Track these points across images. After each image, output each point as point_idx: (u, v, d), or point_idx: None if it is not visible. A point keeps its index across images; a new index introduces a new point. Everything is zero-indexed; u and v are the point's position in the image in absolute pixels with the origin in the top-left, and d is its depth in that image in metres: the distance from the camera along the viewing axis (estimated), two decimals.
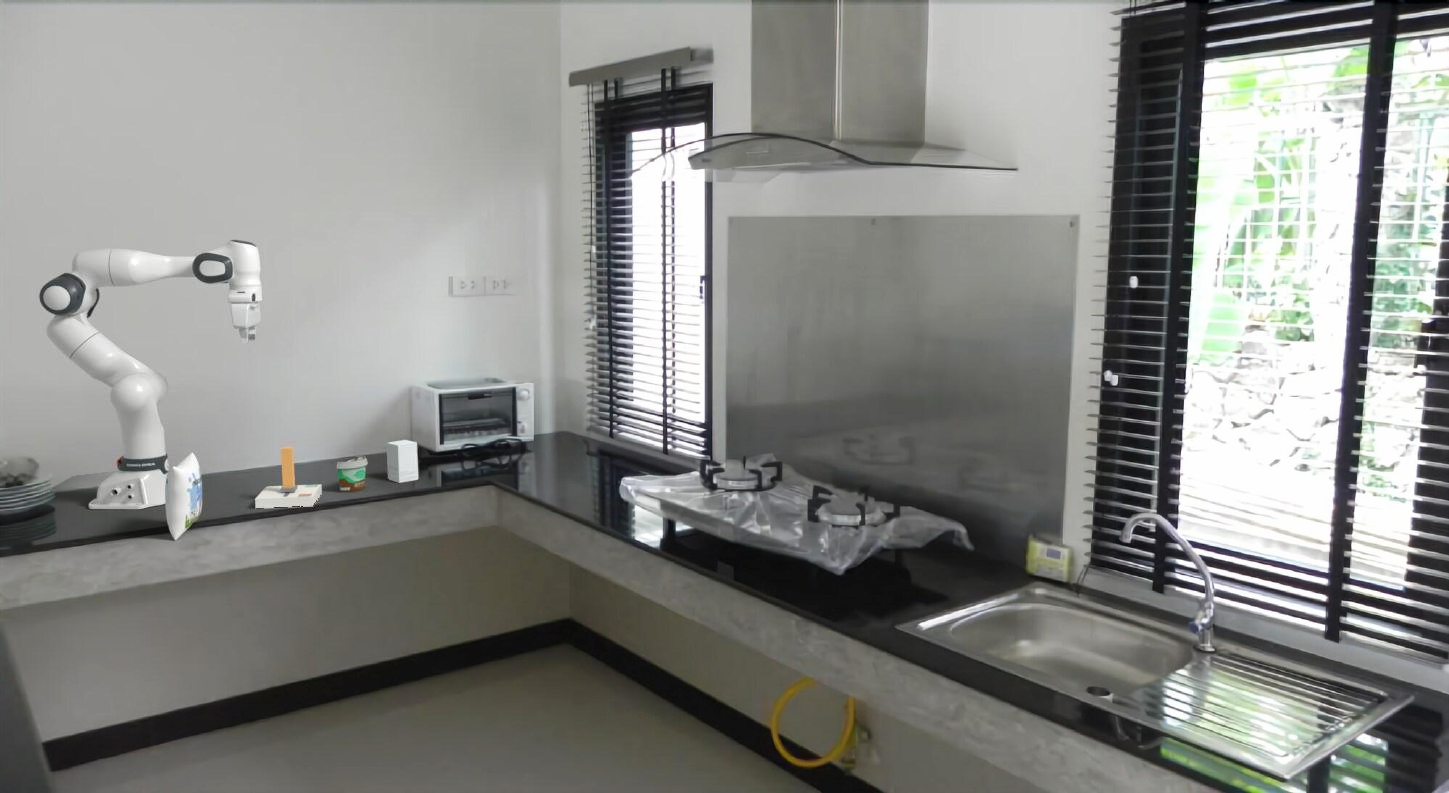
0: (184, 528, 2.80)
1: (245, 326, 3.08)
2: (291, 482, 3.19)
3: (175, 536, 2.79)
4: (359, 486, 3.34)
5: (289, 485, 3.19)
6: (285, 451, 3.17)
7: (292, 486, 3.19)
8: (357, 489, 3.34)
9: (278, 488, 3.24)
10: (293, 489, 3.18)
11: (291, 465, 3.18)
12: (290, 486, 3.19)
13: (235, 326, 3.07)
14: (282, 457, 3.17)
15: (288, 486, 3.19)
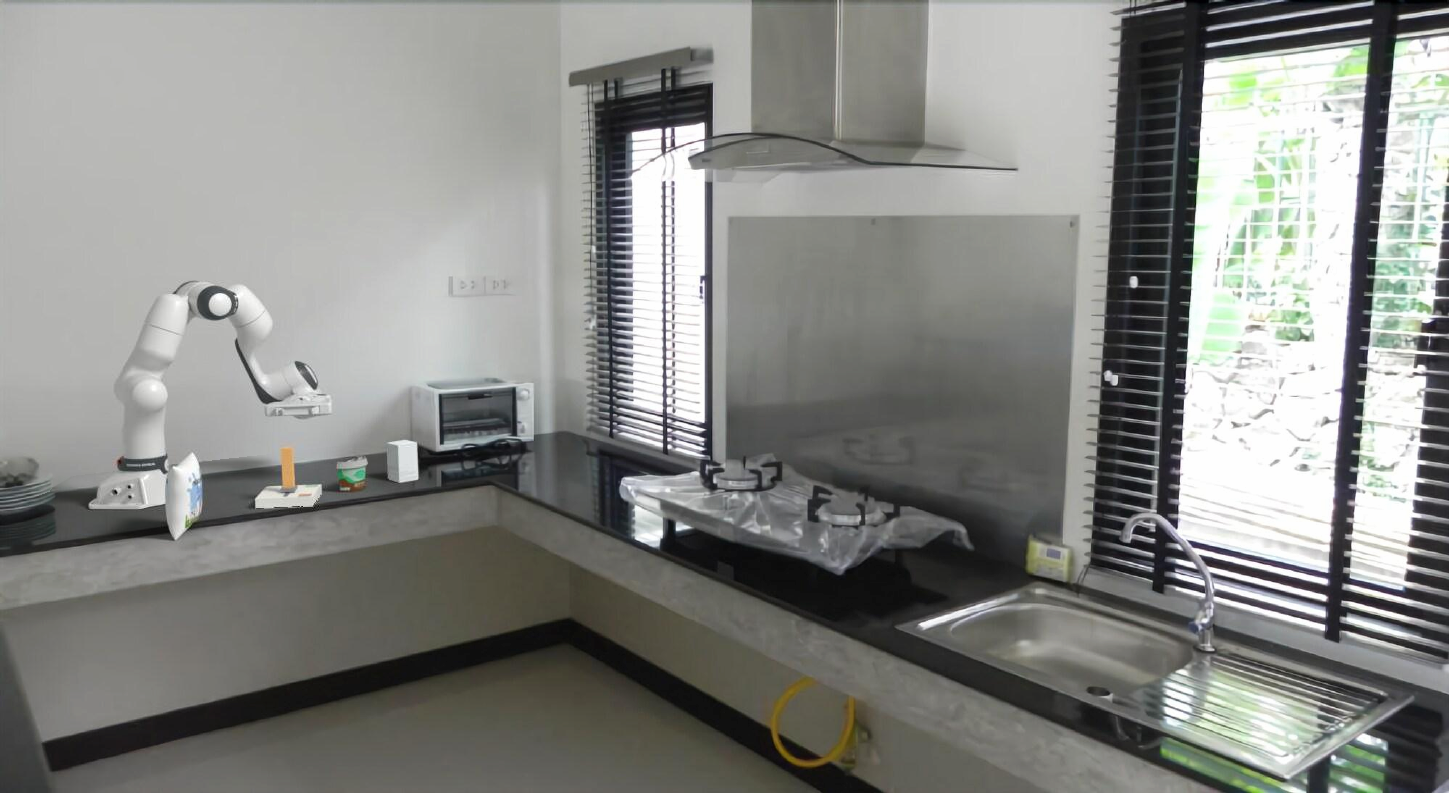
0: (184, 528, 2.80)
1: (330, 413, 3.39)
2: (291, 482, 3.19)
3: (175, 536, 2.79)
4: (359, 486, 3.34)
5: (289, 485, 3.19)
6: (285, 451, 3.17)
7: (292, 486, 3.19)
8: (357, 489, 3.34)
9: (278, 488, 3.24)
10: (293, 489, 3.18)
11: (291, 465, 3.18)
12: (290, 486, 3.19)
13: (330, 404, 3.38)
14: (282, 457, 3.17)
15: (288, 486, 3.19)
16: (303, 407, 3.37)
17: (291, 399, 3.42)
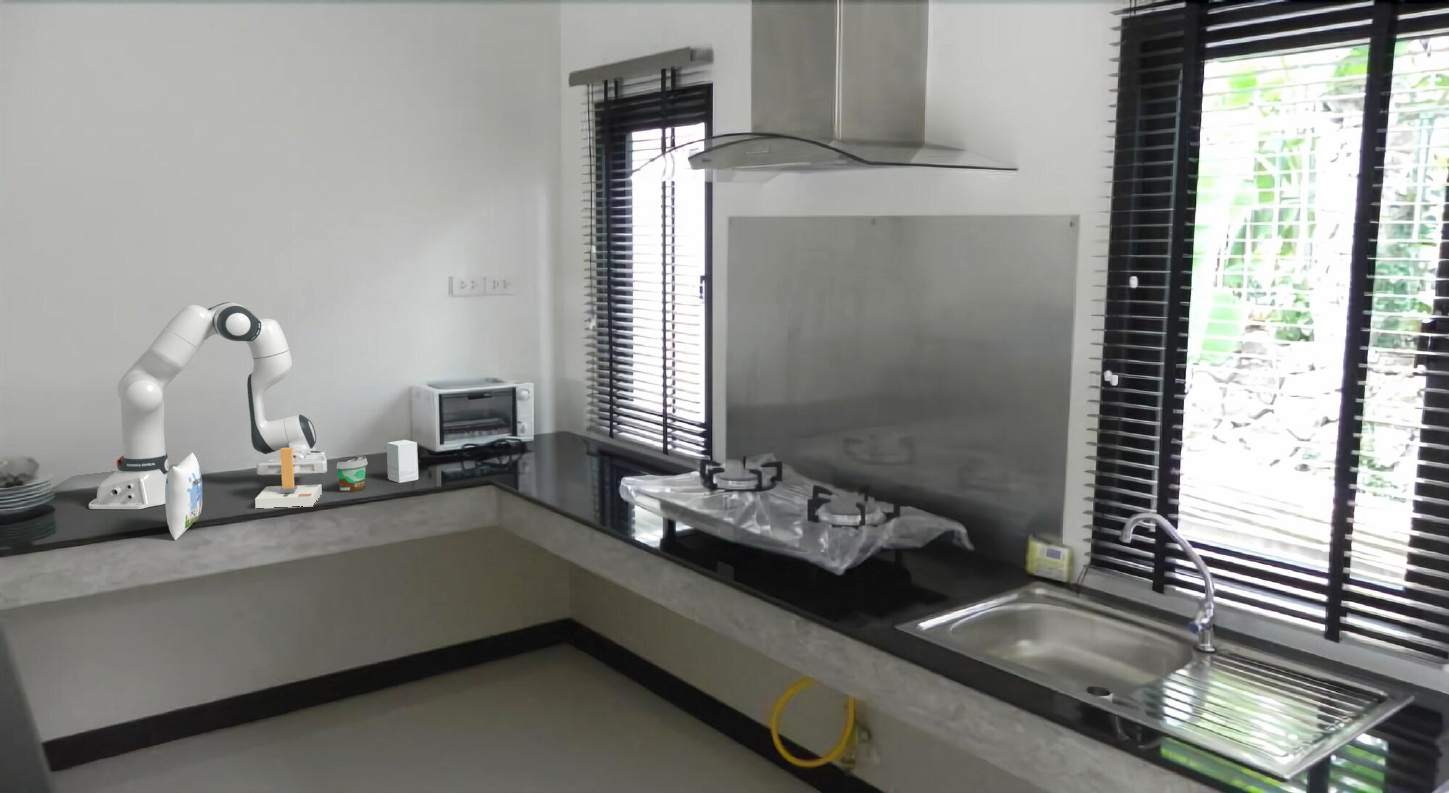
0: (184, 528, 2.80)
1: (325, 471, 3.27)
2: (290, 483, 3.18)
3: (175, 536, 2.79)
4: (359, 486, 3.34)
5: (289, 485, 3.18)
6: (285, 452, 3.17)
7: (291, 487, 3.19)
8: (357, 489, 3.34)
9: (278, 488, 3.24)
10: (292, 490, 3.17)
11: (290, 466, 3.18)
12: (289, 487, 3.18)
13: (325, 463, 3.27)
14: (281, 457, 3.17)
15: (287, 487, 3.18)
16: None
17: None
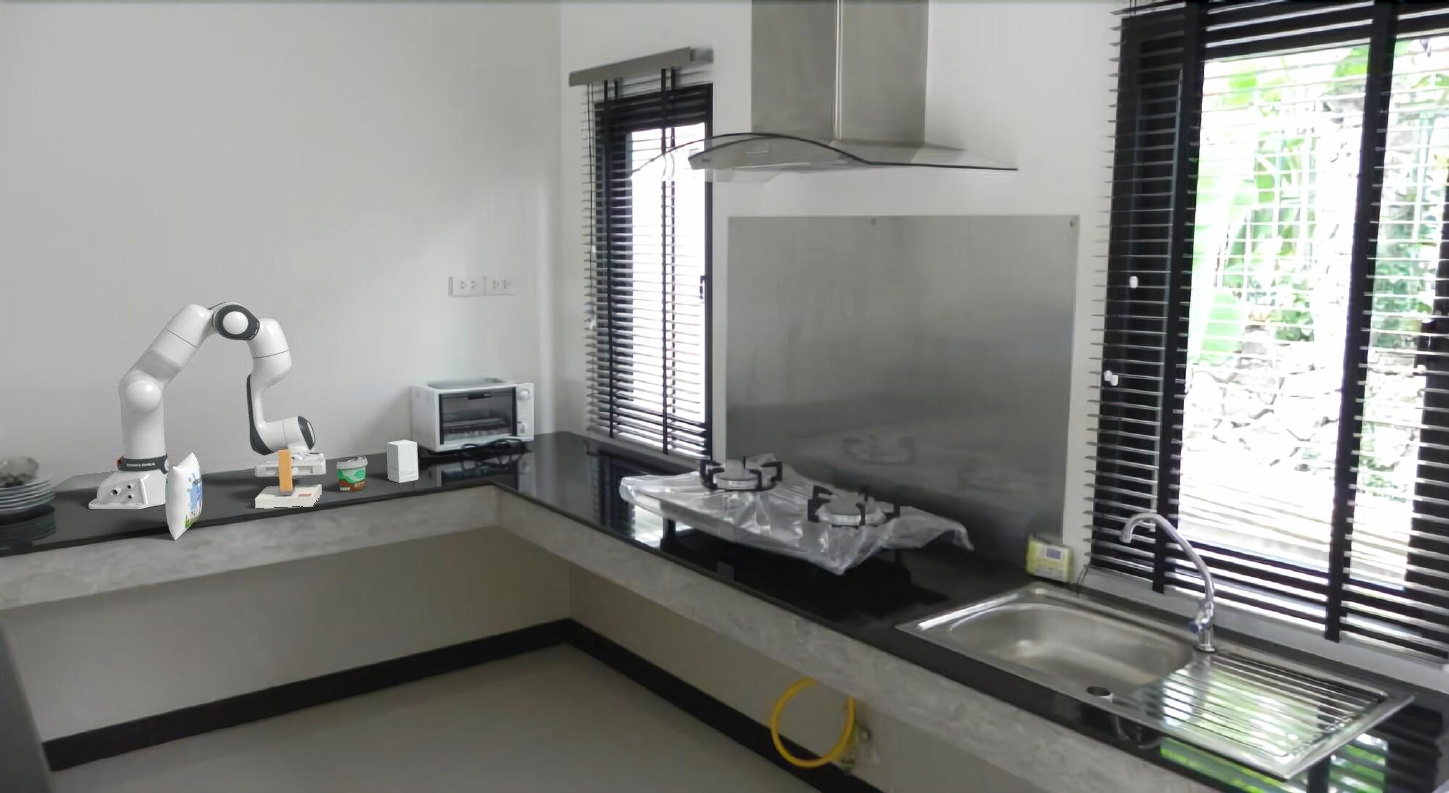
0: (184, 528, 2.80)
1: (324, 473, 3.25)
2: (288, 485, 3.15)
3: (175, 536, 2.79)
4: (359, 486, 3.34)
5: (286, 488, 3.15)
6: (283, 454, 3.14)
7: (289, 489, 3.15)
8: (357, 489, 3.34)
9: (278, 488, 3.24)
10: (290, 492, 3.14)
11: (288, 468, 3.14)
12: (287, 489, 3.15)
13: (324, 464, 3.24)
14: (279, 459, 3.14)
15: (285, 489, 3.15)
16: None
17: None
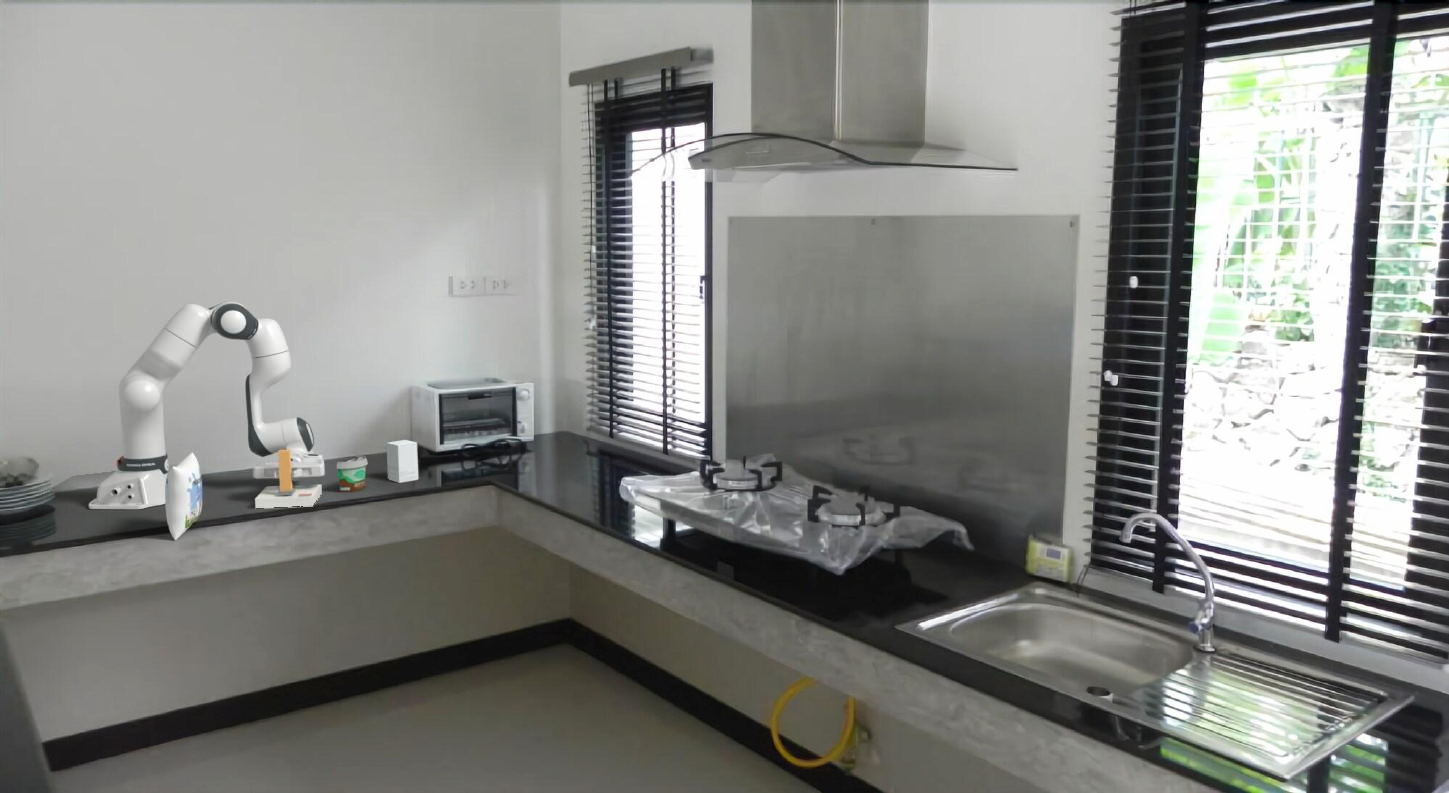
0: (184, 528, 2.80)
1: (322, 475, 3.22)
2: (288, 485, 3.15)
3: (175, 536, 2.79)
4: (359, 486, 3.34)
5: (286, 488, 3.15)
6: (283, 454, 3.14)
7: (289, 489, 3.15)
8: (357, 489, 3.34)
9: (278, 488, 3.24)
10: (290, 492, 3.14)
11: (288, 468, 3.14)
12: (287, 489, 3.15)
13: (322, 466, 3.22)
14: (279, 459, 3.14)
15: (285, 489, 3.15)
16: (294, 469, 3.20)
17: None
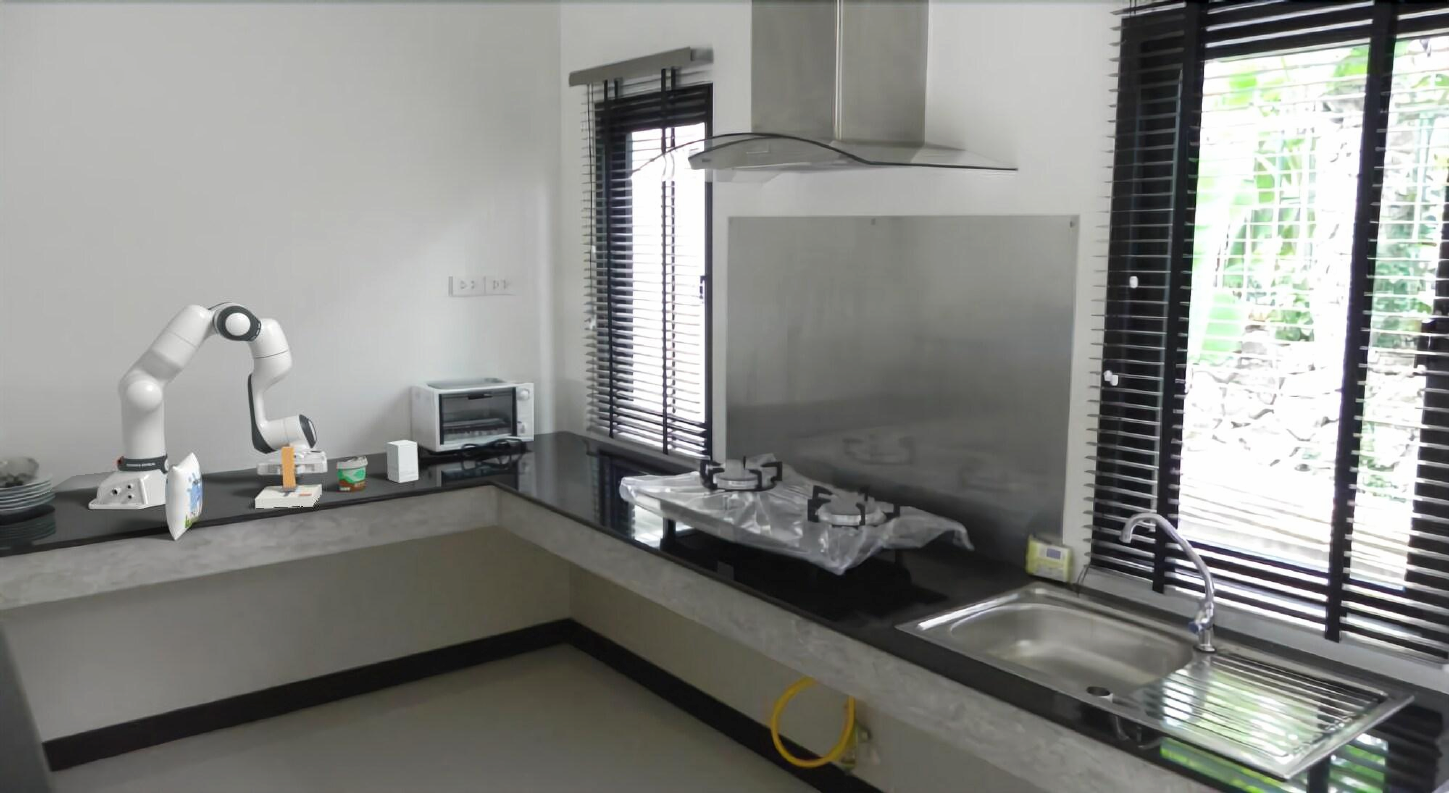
0: (184, 528, 2.80)
1: (325, 471, 3.27)
2: (292, 481, 3.20)
3: (175, 536, 2.79)
4: (359, 486, 3.34)
5: (290, 484, 3.20)
6: (286, 450, 3.18)
7: (293, 485, 3.20)
8: (357, 489, 3.34)
9: (278, 488, 3.24)
10: (294, 488, 3.19)
11: (291, 465, 3.19)
12: (291, 485, 3.20)
13: (325, 463, 3.27)
14: (282, 456, 3.18)
15: (289, 485, 3.20)
16: (297, 465, 3.25)
17: None
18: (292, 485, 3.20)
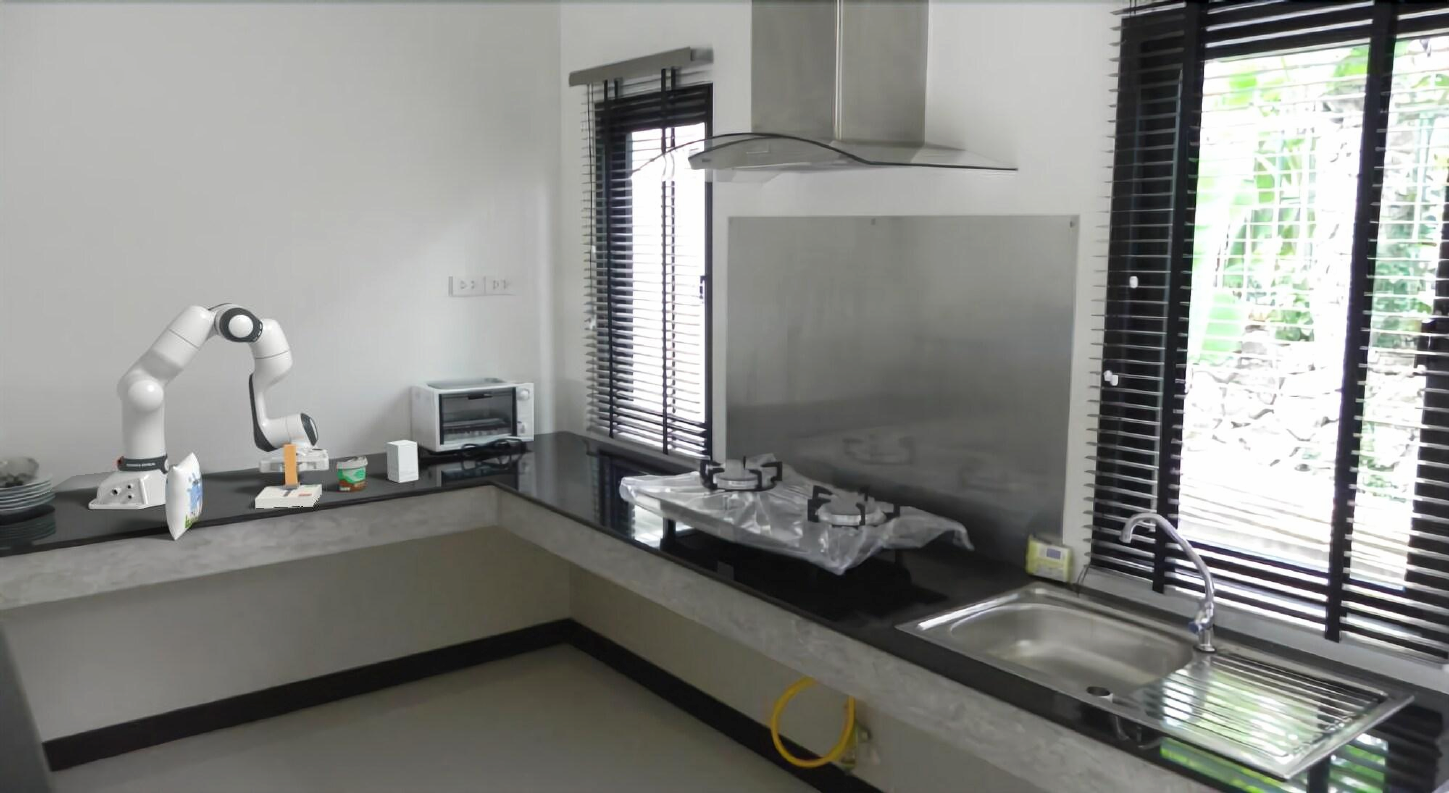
0: (184, 528, 2.80)
1: (327, 469, 3.30)
2: (294, 479, 3.23)
3: (175, 536, 2.79)
4: (359, 486, 3.34)
5: (292, 482, 3.23)
6: (288, 448, 3.22)
7: (295, 483, 3.24)
8: (357, 489, 3.34)
9: (278, 488, 3.24)
10: (296, 486, 3.23)
11: (293, 462, 3.23)
12: (293, 483, 3.23)
13: (327, 460, 3.30)
14: (284, 454, 3.22)
15: (291, 483, 3.23)
16: (299, 463, 3.29)
17: None
18: (294, 482, 3.24)
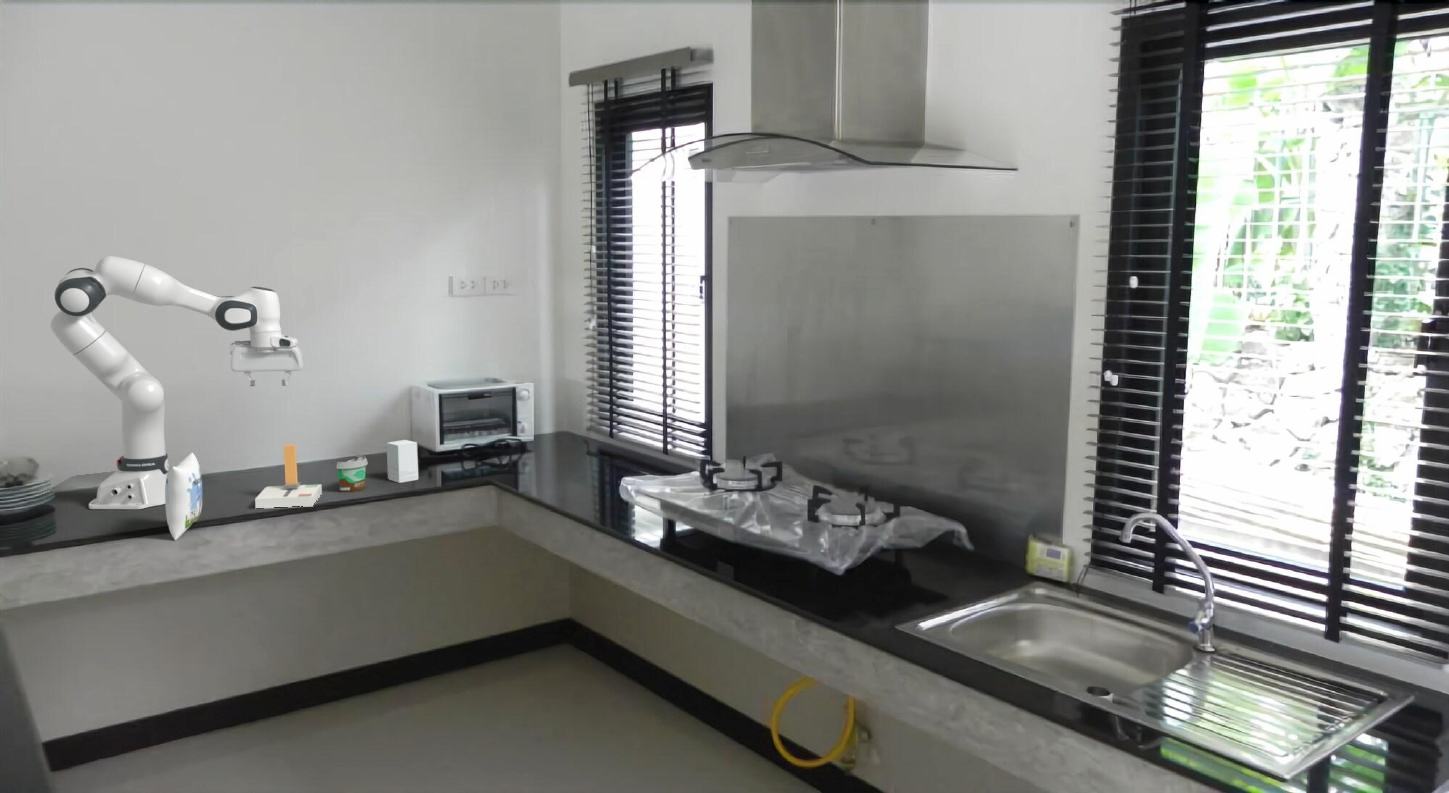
0: (184, 528, 2.80)
1: None
2: (294, 479, 3.23)
3: (175, 536, 2.79)
4: (359, 486, 3.34)
5: (292, 482, 3.23)
6: (288, 448, 3.22)
7: (295, 483, 3.24)
8: (357, 489, 3.34)
9: (278, 488, 3.24)
10: (296, 486, 3.23)
11: (293, 462, 3.23)
12: (293, 483, 3.23)
13: (301, 368, 3.23)
14: (284, 454, 3.22)
15: (291, 483, 3.23)
16: None
17: (253, 347, 3.19)
18: (294, 482, 3.24)
